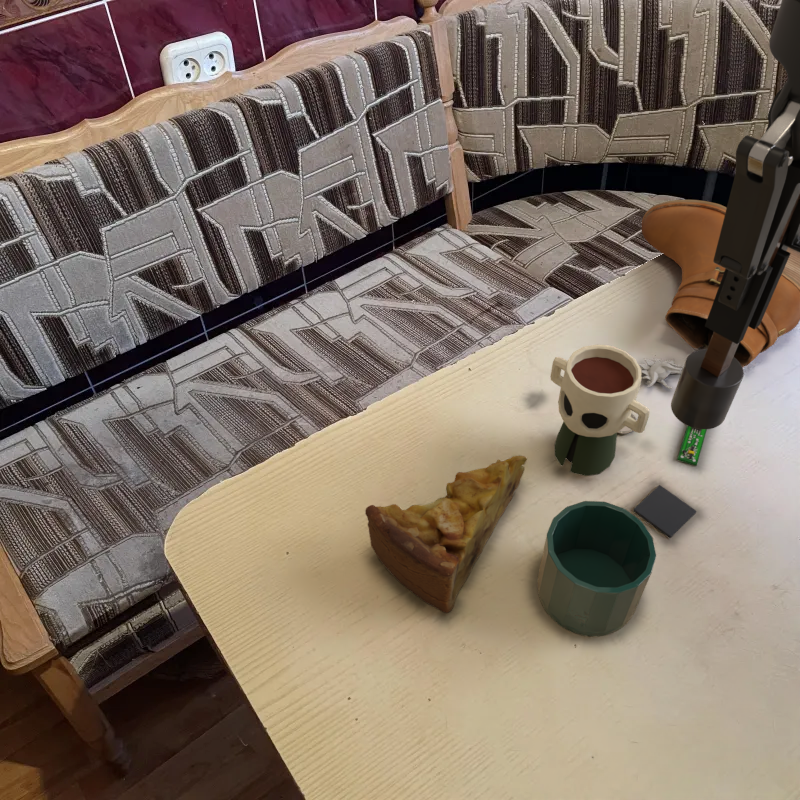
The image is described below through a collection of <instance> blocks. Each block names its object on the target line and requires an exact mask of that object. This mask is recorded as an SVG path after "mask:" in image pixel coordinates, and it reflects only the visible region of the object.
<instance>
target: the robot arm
mask: <svg viewBox="0 0 800 800" xmlns="http://www.w3.org/2000/svg"><path fill="white" fill-rule="evenodd" d="M768 44H769V50H770V53H771V55H772V57H773V58H774V59H775V60H776V62H779V63H780V64H781V65H782V67H783V69H784V70H785V72H786V75H787V80H786V81H785V82H784V83H783V84H784V85H783V86H782V87H781V88H780V89H779V91H778V92H777V93H776V94H775V96H774V98H773V100H772V103H771V104H770V108H769V110H768V113H767V121H768V124H767V128H766V130H765V131H764V134H763V135H762V136H761V137H760V139H759V138H756V137H754V136H751V135H748V134H747V135H745V136H744V137H742V139H741V140H740V141H739V143H738V144H737V147H736V152H735V174H734V178H733V182H732V186H731V189H730V192H729V198H728V201H727V205H726V208H727V209H726V213H725V217H724V221H723V224H722V228H721V232H720V236H719V240H718V244H717V248H716V252H715V256H714V260H713V262H714V263H716V264H718V265H720V266H722V267H724V268H726V269H725V271H724V274H723V277H722V280H721V282H720V285H719V288H718V291H717V294H716V296H715V299H714V302H713V305H712V307H711V310H710V313H709V316H708V318H707V321H706V324H705V327H707V328H709V329H710V330H712V331H714V332H716V333H718V334H719V335H721V336H723V337H725V338H727V339H728V340H730V341H732V342H734V343H736V344H738V343H739V342H741V341H742V340H743V338H744V336H745V333H746V331H747V328H748V326H749V327H751V328H752V329H756V328H757V327H758V326H759V325H760V323H761V321H762V319H763V316H764V314H765V312H766V309H767V307H768V305H769V302H770V300H771V298H772V295H773V293H774V291H775V288H776V286H777V284H778V282H779V279H780V277H781V275H782V272H783V270H784V268H785V265H786V263H787V261H788V258H789V256H790V254H791V253H789V252H787V249H788V247H789V248H791V249H793V250H795V251H798V252H800V198H799V200H798V203H797V205H796V207H795V210H794V212H793V215H792V217H791V220H790V222H789V224H788V227H787V229H786V232H785V234H784V236H783V239H782V241H781V244H780V246H779V248H778V251H777V253H776V256H775V258H774V260H773V263H772V265H771V267H770V266H768V264H769V261H770V259H771V257H772V255H773V252H774V250H775V248H776V246H777V243H778V241H779V239H780V237H781V234H782V232H783V230H784V228H785V225H786V223H787V221H788V219H789V216H790V214H791V212H792V210H793V207H794V205H795V203H796V201H797V198H798V196H799V194H800V0H781V3H780V5H779V9H778V12H777V15H776V18H775V22H774V25H773V27H772V29H771V34H770V37H769V42H768Z"/></svg>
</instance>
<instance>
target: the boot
mask: <svg viewBox="0 0 800 800" xmlns="http://www.w3.org/2000/svg"><path fill="white" fill-rule="evenodd" d="M726 209H727V206H724V205H722V204H720V203H716V202H712V201H708V200H707V201H706V200H699V199H673V200H667V201H662V202H659V203H657V204H655V205H653V206H651V207H649V208H648V210H646V212H644V214H643V217H642V220H641V226H640V227H641V233H642V234H641V235H642V236H643V238H644V239H645V241H646V242H647V243H648V244H649V245H650V246H651V247H653V248H654V249H656V250H657V251H659V253H661V254H663V256H665V257H667V258H669V259H671V260H672V261H673V262H675V263H676V265H678V266H679V267H680V268H681V283H680V284H679V287H678V290H677V292H676V293H675V295H674V297H673V299H672V302H671V306H670V308H669V309H668V311H667V312H666V314H665V316H664V320H665V322H666V324H667V325H669V326H670V328H671V329H673V330H674V331H675V333H676V334H677V335H678V336H679V337H680V338H681V339H682V340H683V341H685V343H686V344H687V345H688V346H690V347H691V348H693V349H695V350H699V348H703V349H707V348H708V346H709V343H710V340H711V338H712V335H713V332H714V331H712V330H710V329H709V328H707V327H705V324H706V321H707V318H708V316H709V313H710V310H711V307H712V305H713V302H714V299H715V296H716V294H717V291H718V288H719V285H720V282H721V280H722V277H723V274H724V271H725V269H726V268H724V267H722V266H720V265H718V264H716V263H714V262H713V260H714V256H715V252H716V248H717V244H718V240H719V236H720V232H721V228H722V224H723V221H724V217H725V213H726ZM787 252H789V253H791V254H790V256H789V258H788V261H787V263H786V265H785V268H784V270H783V272H782V275H781V277H780V279H779V282H778V284H777V286H776V288H775V291H774V293H773V295H772V298H771V300H770V302H769V305H768V307H767V309H766V312H765V314H764V316H763V319H762V321H761V323H760V325H759V326H758V327H757V328H756V329H752V328H751V327H749V326H748V328H747V331H746V333H745V336H744V338H743V340H742V341H741V342H739V345H738V347H737V349H736V352H735V354H734V358H736V359H737V360H738V361H739V363H740V364H741V366H742V368H744V367H746V366H749V365H750V364H751V363H752V362H753V361H754V360H755V359H756V358H757V356H758V355H759V354H762V353H764V352H765V351H767V350H768V349H770V348H771V347H772V346H774V344H776V342H777V339H778V338H780V337H781V336H784V335H786V334H788V333H789V332H791V331H792V330H794V329H795V328H796V327H797V326H798V325H799V323H800V252H798V251H795V250H793V249H791V248H789V247H788V249H787Z"/></svg>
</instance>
